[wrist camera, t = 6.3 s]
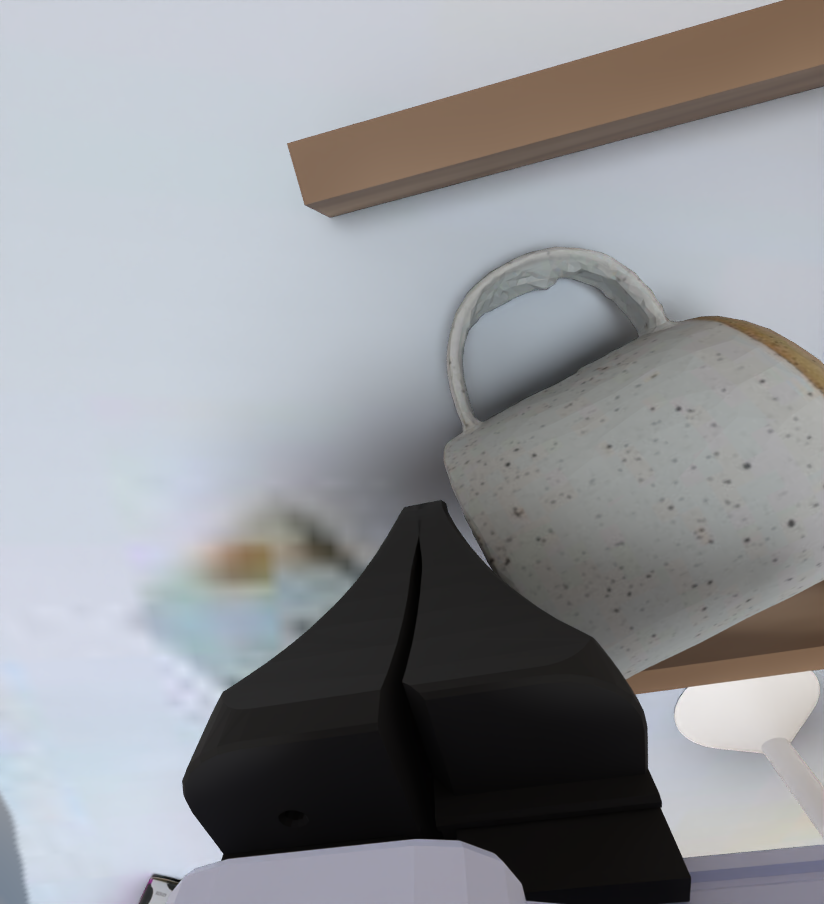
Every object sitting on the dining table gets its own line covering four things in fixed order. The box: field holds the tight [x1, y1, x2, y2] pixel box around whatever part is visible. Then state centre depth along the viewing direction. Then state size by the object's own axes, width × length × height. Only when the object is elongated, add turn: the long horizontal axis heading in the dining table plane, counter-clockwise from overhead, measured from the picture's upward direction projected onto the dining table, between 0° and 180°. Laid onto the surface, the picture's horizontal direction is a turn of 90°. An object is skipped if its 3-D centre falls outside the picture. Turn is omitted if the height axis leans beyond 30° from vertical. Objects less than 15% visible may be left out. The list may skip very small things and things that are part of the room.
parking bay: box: [287, 0, 824, 694], centre depth 14 cm, size 19×17×3 cm
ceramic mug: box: [444, 247, 824, 679], centre depth 11 cm, size 11×8×8 cm
